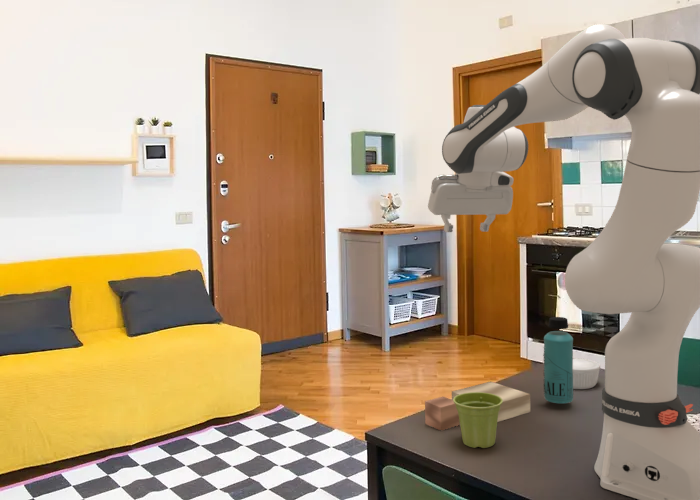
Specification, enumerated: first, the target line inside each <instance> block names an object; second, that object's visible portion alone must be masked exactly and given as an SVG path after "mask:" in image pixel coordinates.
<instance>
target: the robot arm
mask: <svg viewBox="0 0 700 500" xmlns="http://www.w3.org/2000/svg"><path fill="white" fill-rule="evenodd" d="M589 107H590V108H591V109H593V110H596V111H598V112H601V113H602V114H604V115H605V116H606V117H608V118H609V119H611V120H618V119H619V120H620V118H623V117H626V118H627V120H628V122H629V123H630V127H631V135H630V136H631V138H630V143H629V148H628V152H627V157H626V163H625V168H624V171H623V177H622V181H621V187H620V189H619V190H620V191H619V193H618V198H617V201H616V205H615V207H614V208H613V209H614V210H613V212H612V213H611V216H610V217H609V220H608V221H607V223H606V224H605V226H604V227H603V229H602V230H601V231H600V233H599V234H598V235H597V237H595V239H593V241H592V242H591V243H590V244H589V245H588V246H587V247H585V248H584V249H583V250H581V251H579V252H578V253H576V254H575V255H574V256H573V257H572V258H571V259H570V261H569V263H568V264H567V266H566V271H565V275H564V286H565V290H566V293H567V295H568V298H569V299H570V301H571V302H572V303H573V305H574V306H575V307H576V308H578V309H579V310H581V311H583V312H589V313H597V314H604V315H605V314H606V315H616V314H617V315H619V314H627V313H629V314H630V317H629V318H628V320H627V322H626V324H625V325H624V327H623V328H622V329H621V330H620V331H619V332H617V333H616V334H615V335H613V336H612V337H611V338H610V339H609V341H608V342H607V343H606V345H605V349H604V387H603V388H602V390H601V391H602V394H601V411H602V415H603V424H602V425H603V426H602V433H601V441H600V445H599V450H598V455H597V458H596V461H595V463H594V467H593V468H594V472H595V473H596V475H598V477H599V478H600V487H601V488H603V489H605V490H608V491H610V492H613V493H617V494H621V495H623V496H627V497H630V498H633V499H637V500H700V431H699V430H698V429H697V428H696V427H694V425H693V424H692V423H690V422H689V421H688V415H687V413H690V412H692V411H693V410H694V408H693V409H692V407H693V406H694V404H693V403H689V404H687V405H684V404H683V402H682V400H681V398H680V395H679V394H678V371H679V355H680V349H681V345H682V342H683V338H684V336H685V333H686V331H687V329H688V327H689V325H690V322H691V320H692V319H693V317H694V316H695V314H696V313H697V311H698V310H699V309H700V247H699V246H694V245H689V244H683V243H677V242H675V243H674V242H673V243H671V242H670V243H665V242H666V241H667V240H668V239H669V238H670V236H672V235H673V234H674V233H675V232H677V231H678V230H679V229H681V228H683V227H684V226H685V225H687V224H688V223H689V222H690V220H691V219H692V218H693V216H694V214H695V212H696V210H697V209H696V208H697V204H698V200H699V195H700V48H699V47H697V46H696V45H693V44H691V43H689V42H685V41H681V40H664V39H663V40H662V39H654V38H649V37H629V38H627V37H626V36H625V34H623V33H622V31H621V30H620V29H618V28H617V27H614V26H612V25H610V24H606V23H596V24H593V25H590V26H588V27H586V28H585V29H583V30H582V31H580V32H578V33H577V34H576V35H575V36H573V37H572V38H571V39H569V41H567V42H566V43H565V44H564V45H563V46H562V47H561V48H560V49H558V50H557V51H556V52H555V53H554V54H553V55H552V56H551V57H550V58H549V59H548V60H547V61H546V62H545V63H544V64H542V66H540V67H539V68H538V69H536V70H535V71H534V72H532V73H530V74H529V75H527V76H526V77H525V78H524V79H522V80H520V81H519V82H516V83H515V84H513V85H511V86H510V87H508V88H507V89H505V90H503V91H501V93H499V94H498V95H497V96H495V97H494V98H493V99H492V100H490V101H489V102H488V103H487V104H473V105H471V106H469V107H468V108H467V110H466V114H465V116H464V120H463V122H462V123H460V124H456V125H454V127H452V128H451V129H450V130H449V132H447V134H446V135H445V138H443V142H442V146H441V153H442V154H441V155H442V157H443V161H444V162H445V163H446V165H447V166H448V167H449V169H450V170H451V171H453V172H454V173H455V174H439V175H438V176H436V177H434V178H433V179H432V181H431V187H430V188H431V192H430V195H429V199H428V203H427V209H428V210H429V212H431V213H432V214H433V215H435V216H440V217H441V219H442V222H443V223H444V225H443V231H444V232H445V233H452V232H453V229H454V225H453V224H452V223H450V222H449V220H451V216H459V215H460V216H461V215H464V216H465V215H466V216H467V215H468V216H469V215H470V216H471V215H472V216H473V215H474V216H475V215H485V216H486V219H485V220H484V222H480V225H479V226H480V227H479V230H480V231H481V232H482V233H483V232H489V229H490V225H491V224H492V223H493V222H494V221H495V220H496V216H497V215H508V214H509V213H510V212H511V210H512V205H513V201H514V200H513V199H514V190H513V187H512V186H513V184H514V181H515V180H514V177H513V176H511V175H510V174H508V173H507V172H513V171H517V170H519V169H520V168H521V167H522V166H523V165H524V163H525V162H526V160H527V156H528V153H529V140H528V138H527V136H526V134H525V133H524V131H523V130H522V129H520V128H519V127H518V128H517V126H522V125H526V124H528V125H529V124H534V123H535V124H536V123H549V122H560V121H565V120H567V119H571V118H572V117H574V116H576V115H578V114H579V113H581V112H583V111H585V110H586V109H587V108H589Z"/></svg>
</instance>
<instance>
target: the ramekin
mask: <svg viewBox="0 0 700 500" xmlns="http://www.w3.org/2000/svg"><path fill="white" fill-rule="evenodd" d="M600 370H601V364H600V363H599V362H597V361H596V360H592V359H588V358H576V357H573V390H588V389H591V388H594V387H595V386H596V385H597V383H598V379H599V373H600Z"/></svg>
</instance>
